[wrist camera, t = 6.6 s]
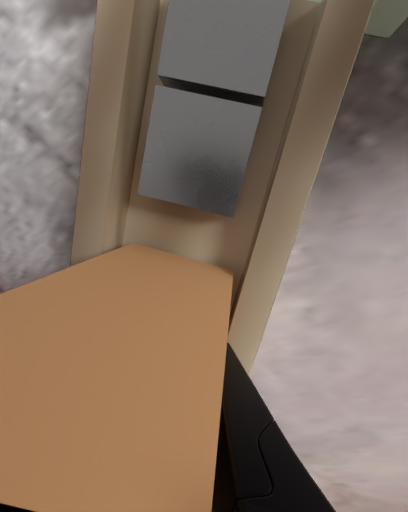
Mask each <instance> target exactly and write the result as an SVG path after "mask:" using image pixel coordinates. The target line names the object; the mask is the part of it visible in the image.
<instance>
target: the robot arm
mask: <svg viewBox="0 0 408 512" xmlns="http://www.w3.org/2000/svg"><path fill="white" fill-rule="evenodd" d="M211 512H336V511H335V510H334V508H333V507H332V505H331V504H330V503H329V501H328V500H327V498H326V497H325V496H324V494H323V493H322V491H321V490H320V488H319V487H318V486H317V484H316V483H315V481H314V480H313V479H312V477H311V476H310V474H309V473H308V471H307V470H306V468H305V467H304V466H303V464H302V463H301V461H300V460H299V458H298V457H297V455H296V454H295V452H294V451H293V449H292V448H291V446H290V444H289V443H288V441H287V440H286V438H285V436H284V435H283V433H282V431H281V430H280V428H279V426H278V425H277V423H276V421H274V418H273V416H272V415H271V413H270V411H269V410H268V408H267V406H266V405H265V403H264V401H263V399H262V398H261V396H260V394H259V393H258V391H257V389H256V388H255V386H254V384H253V383H252V381H251V379H250V377H249V376H248V374H247V372H246V371H245V369H244V367H243V366H242V364H241V362H240V360H239V359H238V357H237V355H236V354H235V352H234V350H233V349H232V347H231V345H230V344H229V343H228V342H227V349H226V359H225V370H224V381H223V392H222V403H221V413H220V424H219V435H218V446H217V456H216V467H215V478H214V489H213V500H212V510H211Z"/></svg>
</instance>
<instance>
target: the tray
mask: <svg viewBox="0 0 408 512" xmlns="http://www.w3.org/2000/svg"><path fill="white" fill-rule="evenodd" d="M308 1H314V2H320V3H321V1H322V0H308ZM371 11H372V13H371V16H370V19H369V21H368V24H367V27H366V30H365V33H364V34H368V35H374V36H380V37H385V38H389V37H390V36H391V35H392V34H393V33H394V32H395V30H396V29H397V28H398V27H399V26H400V25H401V24H402V23H403V22H404V21H405V19H406V18H407V17H408V0H374V2H373V5H372V8H371Z"/></svg>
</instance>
